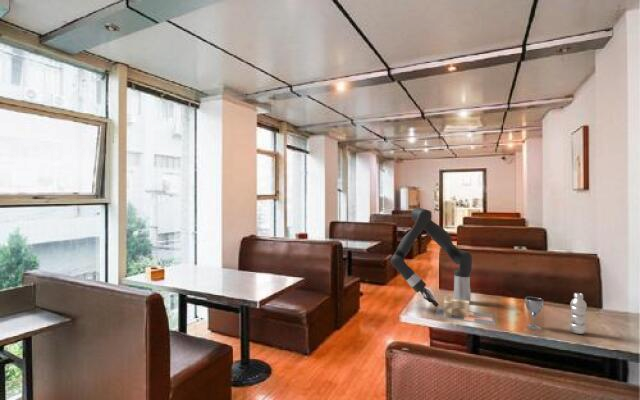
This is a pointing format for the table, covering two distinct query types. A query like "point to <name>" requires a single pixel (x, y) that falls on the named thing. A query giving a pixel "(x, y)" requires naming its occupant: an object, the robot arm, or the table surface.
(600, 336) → the table surface
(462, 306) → the maple T block
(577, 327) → the plastic bottle
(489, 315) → the T board
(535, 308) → the wine glass
